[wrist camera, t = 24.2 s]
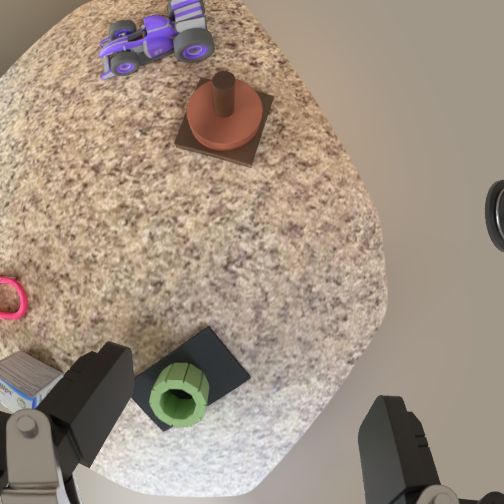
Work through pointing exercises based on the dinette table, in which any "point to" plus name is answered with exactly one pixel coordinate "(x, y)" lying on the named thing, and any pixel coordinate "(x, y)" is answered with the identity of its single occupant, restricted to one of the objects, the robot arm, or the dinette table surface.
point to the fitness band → (22, 296)
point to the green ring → (174, 407)
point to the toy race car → (158, 39)
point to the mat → (201, 356)
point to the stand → (224, 119)
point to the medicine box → (25, 381)
